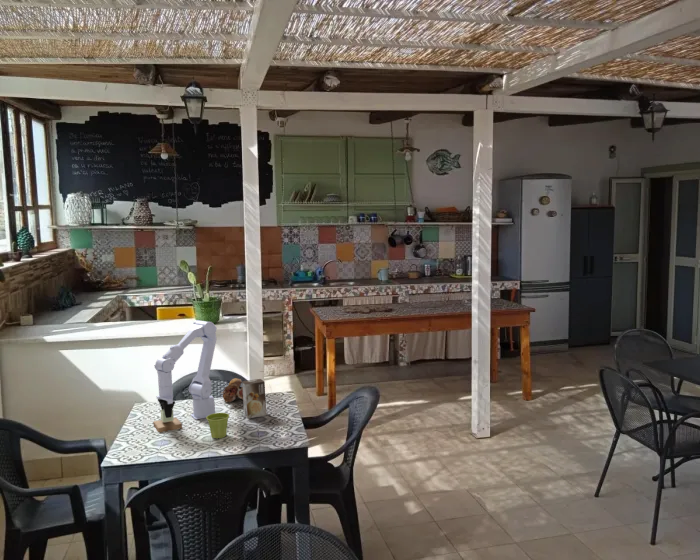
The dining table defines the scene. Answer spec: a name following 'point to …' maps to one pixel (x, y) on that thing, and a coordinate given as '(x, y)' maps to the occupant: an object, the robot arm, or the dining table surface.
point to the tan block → (167, 425)
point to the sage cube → (165, 416)
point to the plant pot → (218, 424)
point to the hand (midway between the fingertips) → (167, 415)
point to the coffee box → (254, 398)
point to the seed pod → (233, 390)
